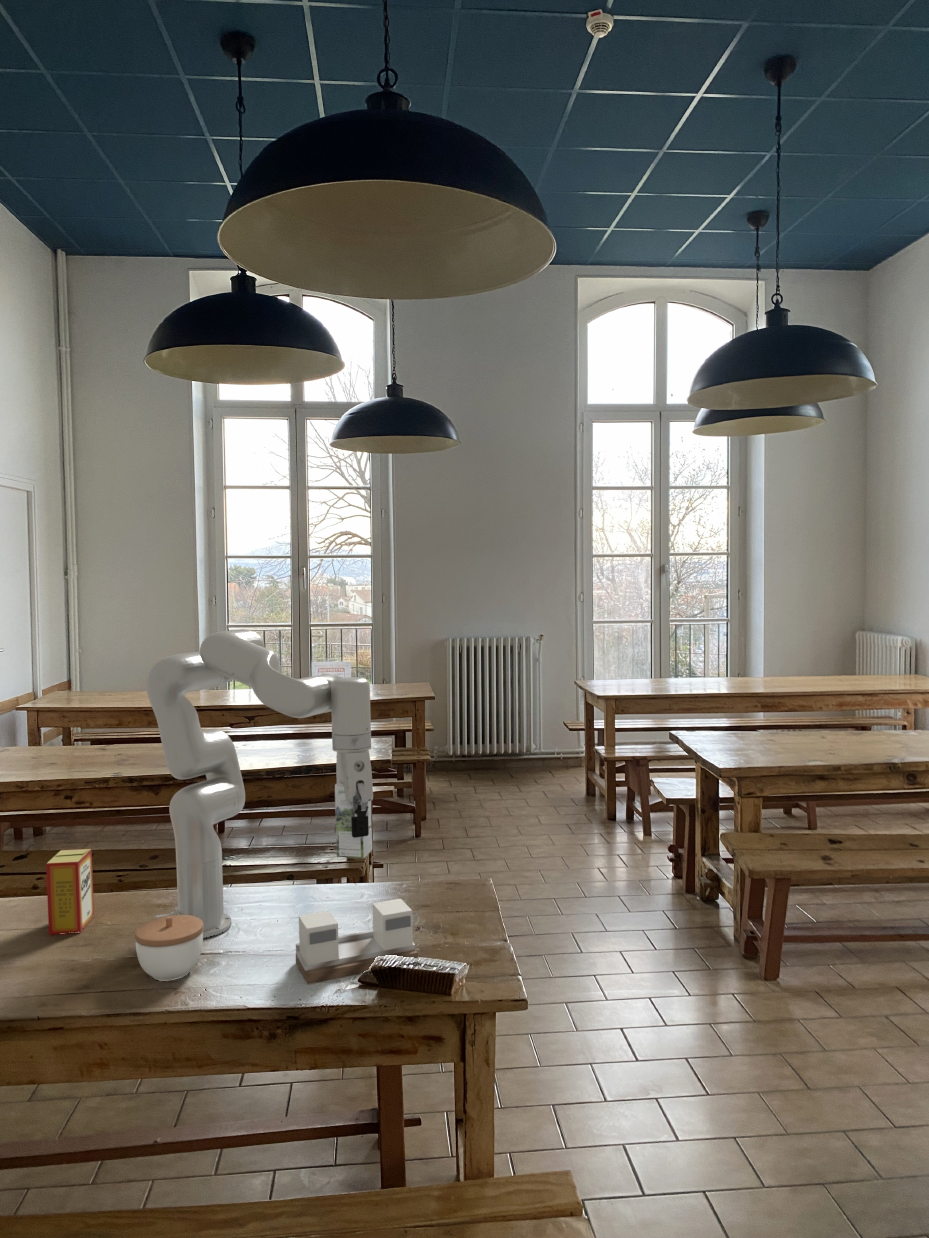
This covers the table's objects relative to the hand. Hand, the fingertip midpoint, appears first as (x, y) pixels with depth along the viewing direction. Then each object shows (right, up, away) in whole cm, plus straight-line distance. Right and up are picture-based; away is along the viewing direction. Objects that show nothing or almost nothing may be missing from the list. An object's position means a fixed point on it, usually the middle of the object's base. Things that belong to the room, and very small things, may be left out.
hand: (354, 830), depth 172 cm
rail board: (0, -26, +1) cm, 27 cm away
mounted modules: (0, -23, +1) cm, 24 cm away
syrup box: (0, -5, 0) cm, 5 cm away
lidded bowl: (-35, -27, -2) cm, 45 cm away
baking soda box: (-65, -27, +23) cm, 74 cm away
